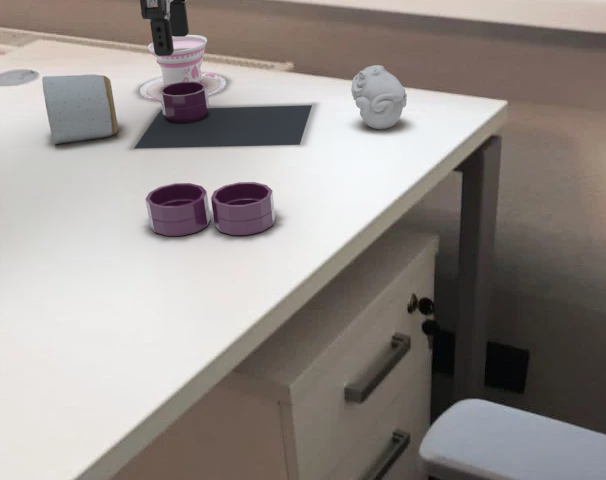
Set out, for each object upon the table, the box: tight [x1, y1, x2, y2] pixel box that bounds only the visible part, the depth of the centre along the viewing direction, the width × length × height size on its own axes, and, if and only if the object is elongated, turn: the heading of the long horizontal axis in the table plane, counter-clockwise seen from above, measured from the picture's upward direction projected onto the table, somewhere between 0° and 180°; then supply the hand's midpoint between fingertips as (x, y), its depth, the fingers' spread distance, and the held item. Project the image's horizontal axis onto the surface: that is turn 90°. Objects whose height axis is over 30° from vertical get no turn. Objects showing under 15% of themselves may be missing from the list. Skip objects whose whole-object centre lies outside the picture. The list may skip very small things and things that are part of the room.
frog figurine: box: [350, 64, 408, 130], centre depth 104 cm, size 6×7×7 cm
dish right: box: [210, 181, 276, 236], centre depth 86 cm, size 6×6×3 cm
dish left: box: [158, 81, 211, 123], centre depth 112 cm, size 6×6×3 cm
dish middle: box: [144, 182, 211, 237], centre depth 87 cm, size 6×6×3 cm
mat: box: [133, 104, 313, 150], centre depth 109 cm, size 20×14×1 cm
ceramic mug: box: [42, 73, 119, 145], centre depth 109 cm, size 11×8×8 cm
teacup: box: [139, 34, 227, 102], centre depth 121 cm, size 12×12×6 cm
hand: (172, 45), depth 108 cm, fingers open, 8 cm apart
